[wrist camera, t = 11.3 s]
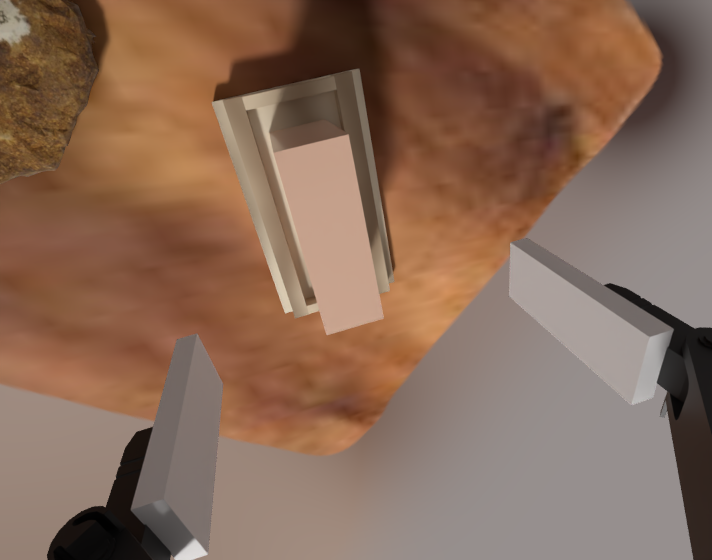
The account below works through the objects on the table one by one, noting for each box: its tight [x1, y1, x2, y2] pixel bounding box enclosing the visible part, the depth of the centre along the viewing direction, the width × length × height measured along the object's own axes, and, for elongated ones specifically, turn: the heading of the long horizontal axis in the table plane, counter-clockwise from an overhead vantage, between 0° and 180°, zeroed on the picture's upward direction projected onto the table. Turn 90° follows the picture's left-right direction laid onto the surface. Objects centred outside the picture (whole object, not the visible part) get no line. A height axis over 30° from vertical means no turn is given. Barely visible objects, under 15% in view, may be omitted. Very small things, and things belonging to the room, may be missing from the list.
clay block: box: [269, 119, 384, 335], centre depth 26 cm, size 12×4×8 cm, turn 11°
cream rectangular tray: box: [212, 69, 394, 318], centre depth 30 cm, size 10×17×2 cm, turn 11°
